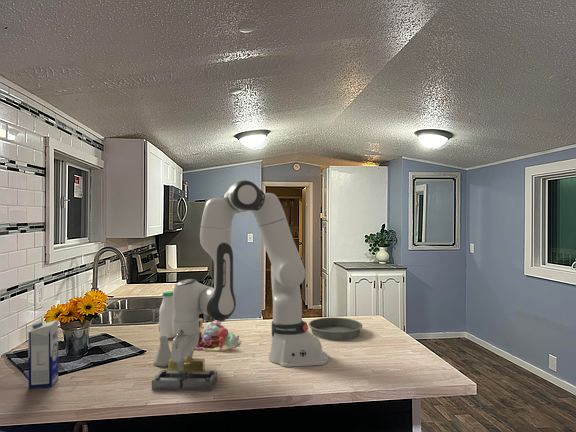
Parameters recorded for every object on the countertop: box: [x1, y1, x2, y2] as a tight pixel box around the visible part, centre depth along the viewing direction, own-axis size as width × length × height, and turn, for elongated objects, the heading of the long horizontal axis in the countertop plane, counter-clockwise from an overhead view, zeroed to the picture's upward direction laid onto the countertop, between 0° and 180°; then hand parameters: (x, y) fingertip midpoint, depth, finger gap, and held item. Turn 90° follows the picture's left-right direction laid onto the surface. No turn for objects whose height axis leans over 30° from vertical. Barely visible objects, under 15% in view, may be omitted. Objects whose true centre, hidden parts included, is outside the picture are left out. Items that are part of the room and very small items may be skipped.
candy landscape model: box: [194, 317, 241, 353], centre depth 185 cm, size 25×24×9 cm
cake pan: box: [308, 317, 363, 341], centre depth 199 cm, size 25×25×4 cm
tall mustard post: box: [167, 357, 206, 376], centre depth 150 cm, size 12×3×5 cm, turn 87°
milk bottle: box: [158, 290, 176, 339], centre depth 194 cm, size 8×8×20 cm
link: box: [151, 369, 188, 391], centre depth 140 cm, size 9×8×3 cm
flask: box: [153, 336, 171, 368], centre depth 159 cm, size 7×7×10 cm
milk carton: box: [27, 319, 59, 389], centre depth 141 cm, size 7×7×20 cm
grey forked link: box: [182, 370, 218, 392], centre depth 140 cm, size 9×8×3 cm
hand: (185, 366), depth 150 cm, fingers open, 8 cm apart
